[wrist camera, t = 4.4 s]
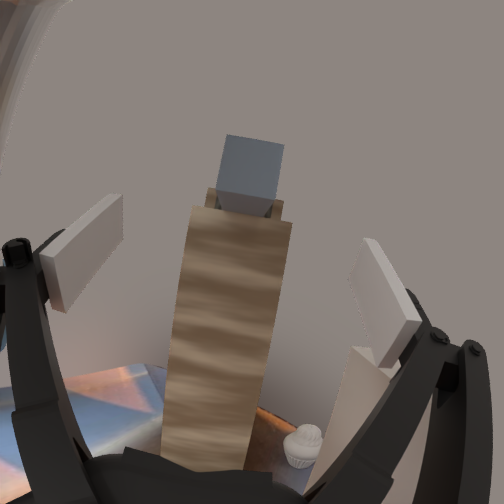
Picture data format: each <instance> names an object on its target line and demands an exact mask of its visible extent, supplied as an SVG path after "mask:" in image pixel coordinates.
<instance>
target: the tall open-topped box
mask: <svg viewBox="0 0 504 504" xmlns="http://www.w3.org/2000/svg"><path fill="white" fill-rule="evenodd" d="M283 203H284V201H282V200H277V199H275V201H274V202H273V204H272V205H271V207H270V208H269V209H268V211H267V212H266V214H265V215H264V216H263V217H259V216H253V215H248V214H242V213H236V212H231V211H225V210H222V207H221V204H220V201H219V199H218V196H217V193H216V190H215V189H214V188H208V191H207V196H206V201H205V206H204V207H201V206H195V205H193V206H192V210H191V216H190V220H189V226H188V232H187V237H186V243H185V248H184V254H183V260H182V266H181V272H180V279H179V285H178V291H177V298H176V305H175V312H174V319H173V327H172V335H171V342H170V351H169V360H168V368H167V378H166V388H165V399H164V410H163V423H162V437H161V454H160V456H161V457H163V458H166V459H168V460H170V461H172V462H174V463H176V464H178V465H181V466H183V467H185V468H187V469H190V470H192V471H195V472H211V471H224V470H235V469H237V470H243V466H244V462H245V458H246V454H247V450H248V445H249V441H250V437H251V432H252V428H253V423H254V419H255V414H256V410H257V405H258V401H259V396H260V392H261V387H262V382H263V377H264V373H265V368H266V363H267V358H268V353H269V348H270V343H271V338H272V333H273V327H274V323H275V317H276V312H277V307H278V302H279V296H280V291H281V285H282V280H283V274H284V269H285V263H286V257H287V252H288V246H289V240H290V234H291V228H292V223H291V222H285V221H281V214H282V209H283Z"/></svg>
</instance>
